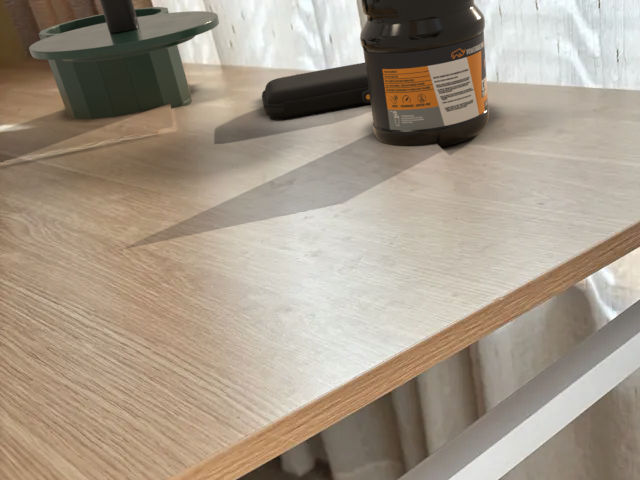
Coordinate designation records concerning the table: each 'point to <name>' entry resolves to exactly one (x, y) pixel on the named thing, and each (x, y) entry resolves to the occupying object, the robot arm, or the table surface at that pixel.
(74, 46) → the lid
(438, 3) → the supplement container
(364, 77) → the carrying case
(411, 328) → the table surface
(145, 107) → the tin
